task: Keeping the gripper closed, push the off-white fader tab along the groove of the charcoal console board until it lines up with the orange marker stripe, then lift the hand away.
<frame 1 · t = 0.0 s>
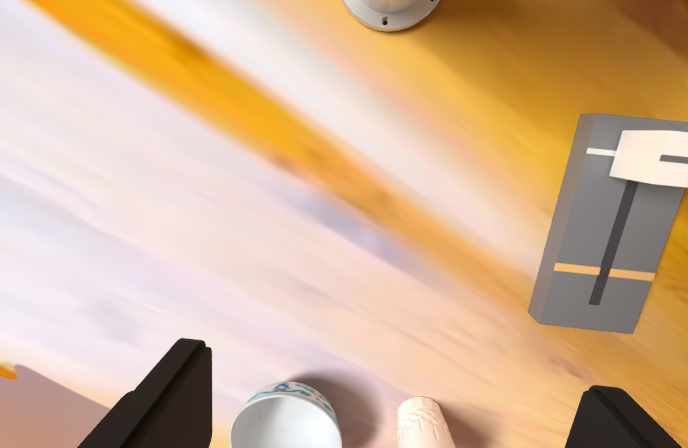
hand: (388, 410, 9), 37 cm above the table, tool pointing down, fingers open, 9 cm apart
console board: (599, 225, 44), on the table
fader tab: (666, 158, 36), point 6 cm above the table, slide at 0.0 cm
chinaware: (296, 398, 54), on the table
white cup: (419, 413, 53), on the table
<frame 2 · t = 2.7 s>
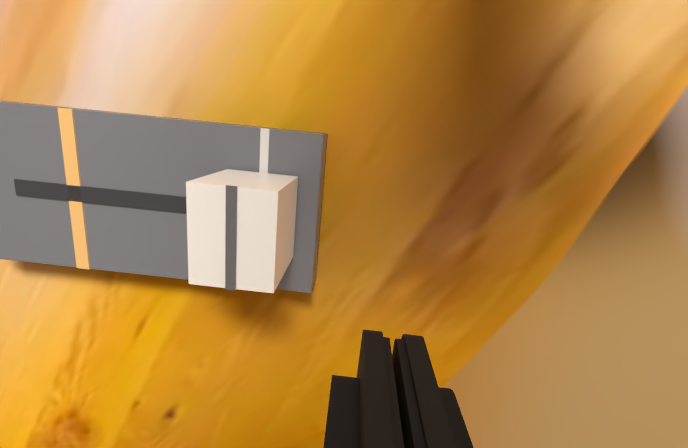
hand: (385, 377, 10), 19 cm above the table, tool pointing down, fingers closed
console board: (164, 193, 28), on the table
fader tab: (248, 225, 22), point 6 cm above the table, slide at 0.0 cm
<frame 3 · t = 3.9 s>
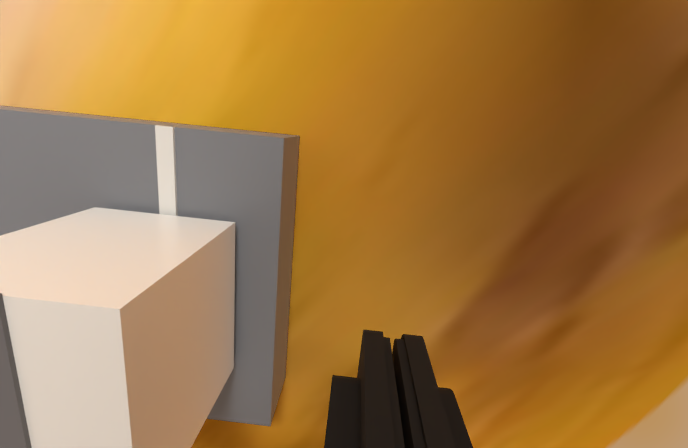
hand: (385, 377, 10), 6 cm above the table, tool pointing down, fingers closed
console board: (18, 238, 16), on the table
fader tab: (111, 340, 10), point 6 cm above the table, slide at 0.0 cm
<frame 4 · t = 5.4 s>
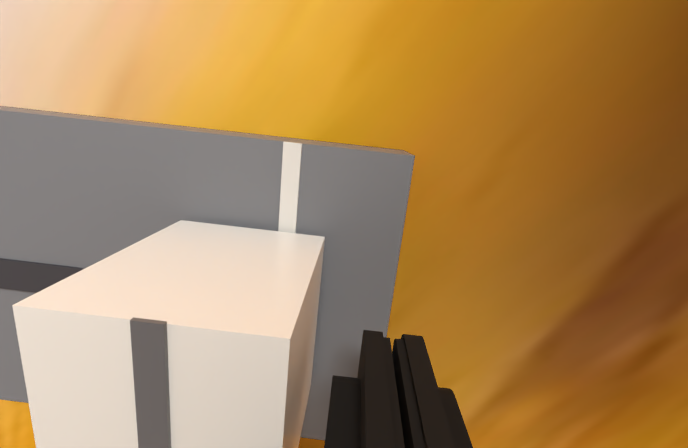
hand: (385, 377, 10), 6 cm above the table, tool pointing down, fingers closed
console board: (104, 251, 16), on the table
fader tab: (216, 359, 10), point 6 cm above the table, slide at 1.2 cm, touching gripper
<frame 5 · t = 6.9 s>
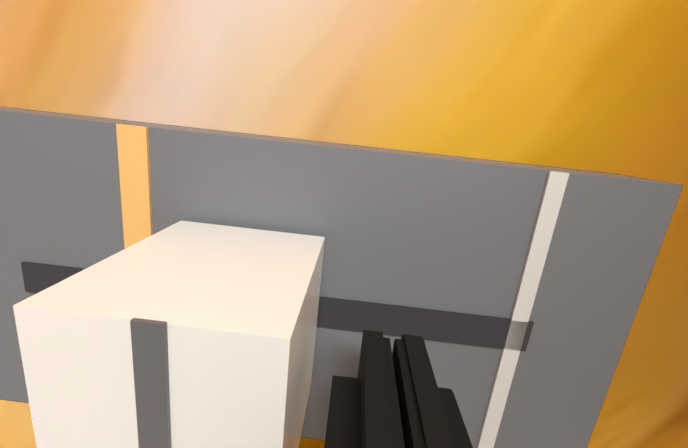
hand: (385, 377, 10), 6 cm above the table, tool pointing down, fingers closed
console board: (289, 273, 16), on the table
fader tab: (216, 360, 10), point 6 cm above the table, slide at 9.8 cm, touching gripper
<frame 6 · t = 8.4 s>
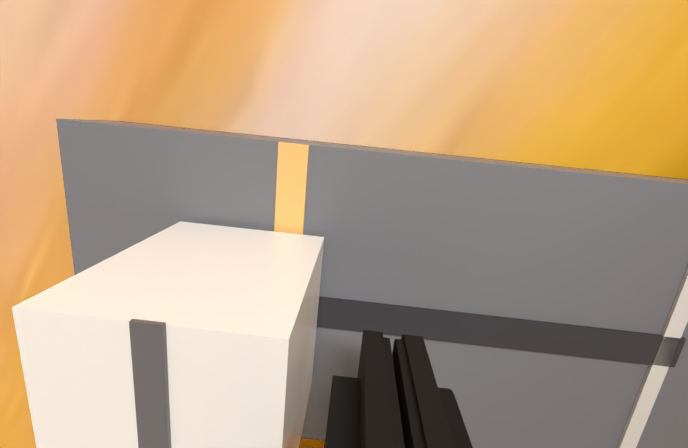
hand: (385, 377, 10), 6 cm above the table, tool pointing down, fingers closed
console board: (407, 286, 16), on the table
fader tab: (216, 360, 10), point 6 cm above the table, slide at 15.2 cm, touching gripper
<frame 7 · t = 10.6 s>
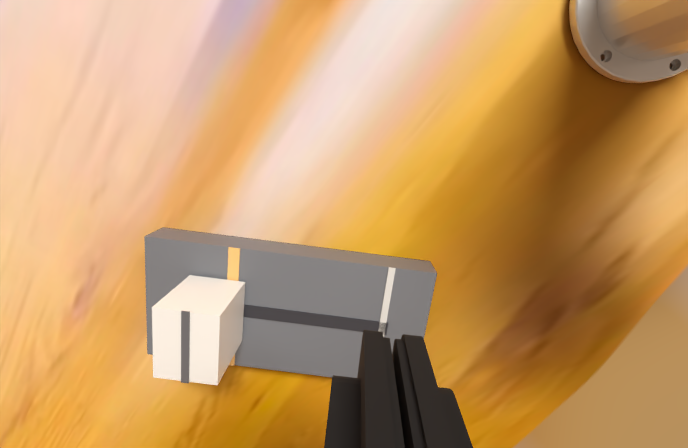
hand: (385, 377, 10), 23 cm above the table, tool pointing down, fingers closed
console board: (291, 300, 35), on the table
fader tab: (202, 326, 29), point 6 cm above the table, slide at 15.3 cm
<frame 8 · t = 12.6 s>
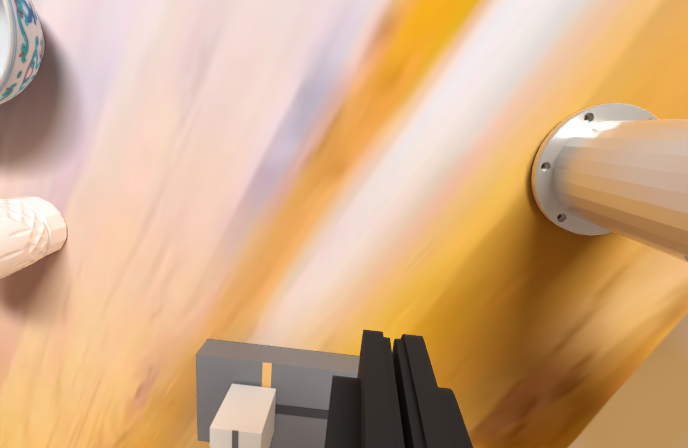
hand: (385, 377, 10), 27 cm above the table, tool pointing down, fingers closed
console board: (312, 393, 43), on the table
fader tab: (244, 430, 37), point 6 cm above the table, slide at 15.3 cm
chinaware: (13, 38, 34), on the table
white cup: (40, 225, 39), on the table
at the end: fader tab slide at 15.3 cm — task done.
